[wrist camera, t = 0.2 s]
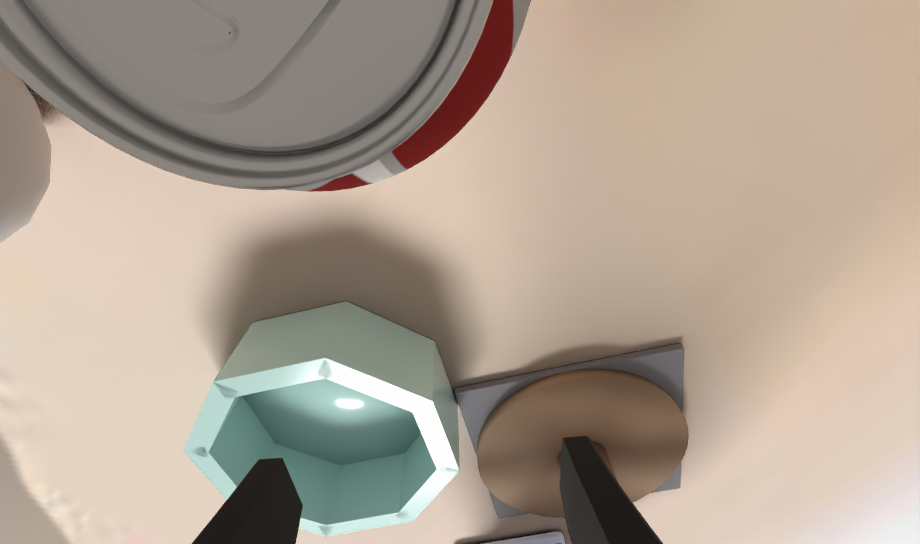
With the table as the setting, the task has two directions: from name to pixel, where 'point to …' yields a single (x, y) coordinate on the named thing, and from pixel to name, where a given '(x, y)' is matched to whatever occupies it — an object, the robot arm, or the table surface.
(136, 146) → the soda can
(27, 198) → the donut
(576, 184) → the table surface
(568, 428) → the lid
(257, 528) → the robot arm
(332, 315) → the bowl
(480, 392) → the mat
